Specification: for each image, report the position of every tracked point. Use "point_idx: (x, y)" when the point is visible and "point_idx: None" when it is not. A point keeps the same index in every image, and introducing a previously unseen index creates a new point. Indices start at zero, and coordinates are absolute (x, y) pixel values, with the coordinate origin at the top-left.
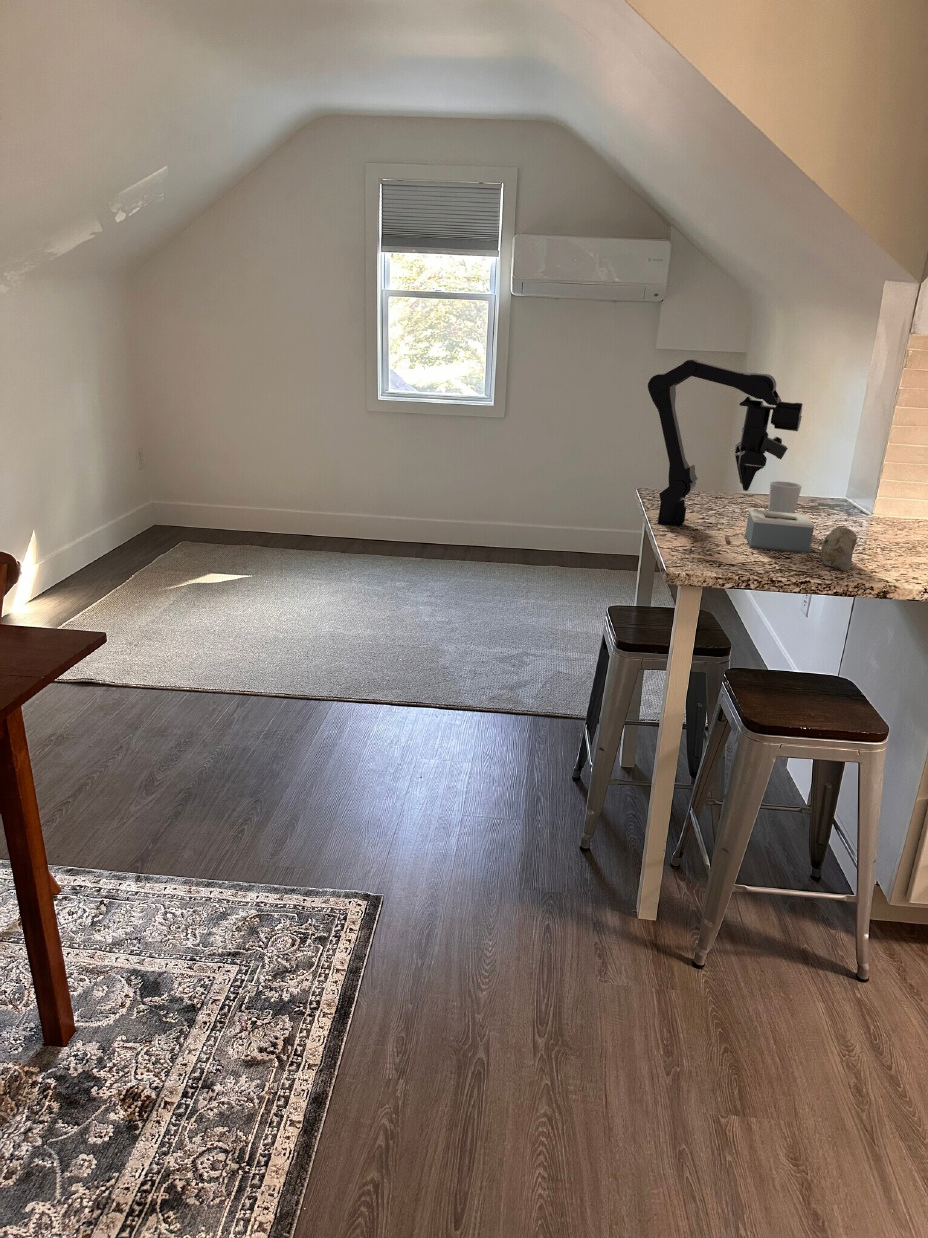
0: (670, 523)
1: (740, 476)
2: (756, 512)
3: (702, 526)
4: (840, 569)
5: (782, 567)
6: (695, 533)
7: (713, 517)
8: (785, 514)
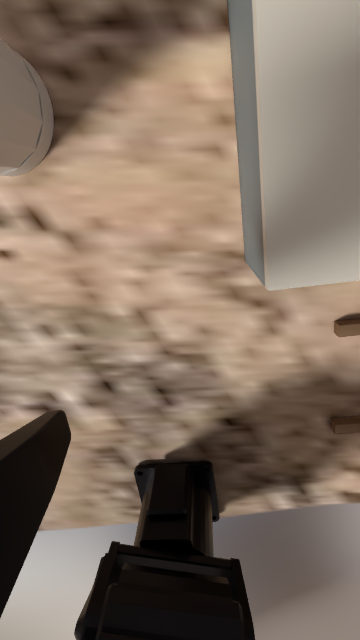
0: (215, 492)
1: (46, 498)
2: (347, 245)
3: (170, 406)
4: None
5: None
6: (343, 429)
7: (2, 379)
8: (327, 12)
